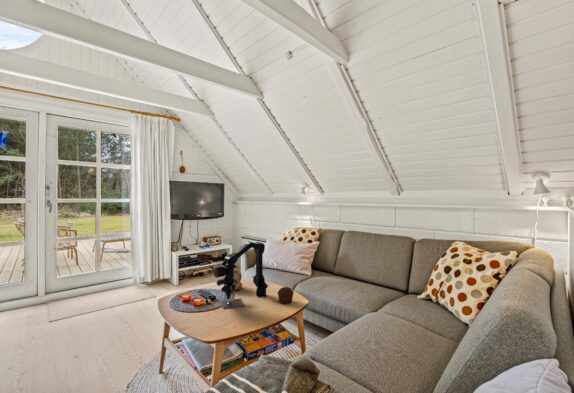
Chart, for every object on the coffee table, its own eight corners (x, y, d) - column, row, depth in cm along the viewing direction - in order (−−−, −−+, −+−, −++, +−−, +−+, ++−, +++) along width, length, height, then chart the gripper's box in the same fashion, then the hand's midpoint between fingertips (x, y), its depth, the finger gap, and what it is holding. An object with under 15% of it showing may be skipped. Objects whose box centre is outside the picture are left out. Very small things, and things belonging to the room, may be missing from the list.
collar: (235, 297, 199) (235, 290, 199) (232, 300, 193) (232, 293, 193) (226, 297, 199) (226, 290, 199) (224, 300, 193) (224, 293, 193)
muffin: (283, 297, 209) (283, 284, 209) (296, 301, 203) (296, 287, 203) (274, 303, 199) (274, 288, 199) (287, 306, 193) (287, 291, 193)
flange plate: (240, 299, 205) (240, 292, 205) (244, 306, 193) (244, 298, 193) (220, 302, 200) (220, 295, 200) (223, 309, 189) (223, 301, 188)
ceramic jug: (232, 294, 215) (232, 275, 215) (218, 290, 223) (218, 272, 223) (248, 287, 230) (248, 270, 230) (235, 284, 238) (235, 267, 238)
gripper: (222, 270, 205) (222, 292, 206) (213, 278, 187) (213, 302, 187) (237, 271, 205) (237, 292, 205) (230, 279, 186) (230, 303, 186)
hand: (229, 297), depth 196 cm, fingers closed on collar, 6 cm apart
